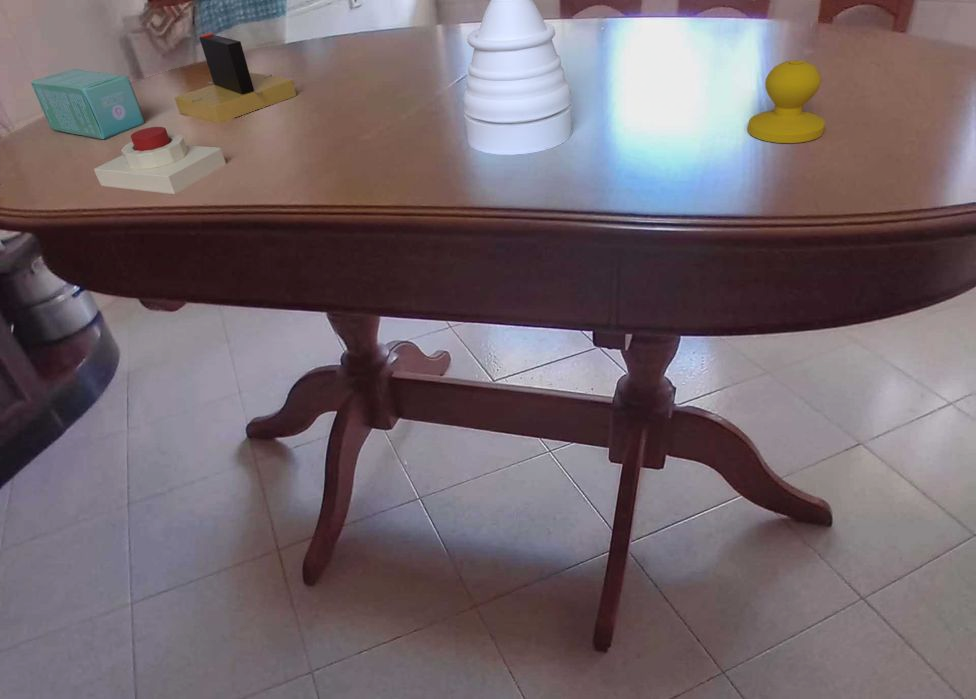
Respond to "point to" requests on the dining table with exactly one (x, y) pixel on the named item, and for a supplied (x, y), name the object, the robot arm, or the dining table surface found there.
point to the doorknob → (789, 105)
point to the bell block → (161, 167)
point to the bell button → (150, 138)
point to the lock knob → (227, 63)
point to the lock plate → (234, 98)
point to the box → (88, 103)
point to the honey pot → (515, 83)
